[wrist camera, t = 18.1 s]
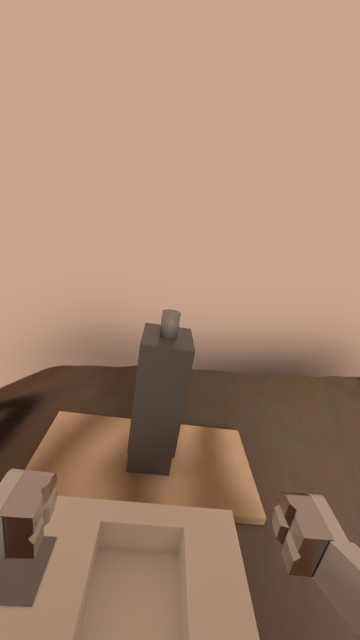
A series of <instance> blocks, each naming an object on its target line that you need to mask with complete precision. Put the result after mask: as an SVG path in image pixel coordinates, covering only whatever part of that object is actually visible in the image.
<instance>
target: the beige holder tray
mask: <svg viewBox="0 0 360 640" xmlns="http://www.w3.org/2000/svg"><path fill="white" fill-rule="evenodd" d="M0 640H260V639H259V634H258V629H257V625H256V620H255V615H254V611H253V606H252V601H251V597H250V592H249V587H248V583H247V578H246V573H245V569H244V564H243V559H242V555H241V550H240V545H239V541H238V536H237V531H236V527H235V522H234V517H233V513H232V510H223V509H211V508H199V507H187V506H176V505H164V504H152V503H140V502H128V501H116V500H105V499H93V498H81V497H69V496H57V499H56V504H55V508H54V511H53V514H52V517H51V519H50V522H49V523H48V524H46V525H45V526H44V537H43V539H42V541H41V544H40V546H39V549H38V551H37V553H36V556H35V558H34V559H17V558H6V560H5V561H4V562H3V563H2V564H1V565H0Z"/></svg>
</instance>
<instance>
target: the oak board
mask: <svg viewBox="0 0 360 640" xmlns="http://www.w3.org/2000/svg"><path fill="white" fill-rule="evenodd" d="M130 424H131V419H127V418H118V417H108V416H99V415H90V414H81V413H72V412H62V411H59V413H58V415H57V416H56V418H55V420H54V421H53V423H52V425H51V426H50V428H49V430H48V431H47V433H46V435H45V436H44V438H43V440H42V441H41V443H40V445H39V446H38V448H37V450H36V452H35V453H34V455H33V457H32V458H31V460H30V462H29V463H28V465H27V467H26V468H25V470H31V471H40V472H49V473H56V474H57V482H56V484H55V488H56V490H57V496H69V497H81V498H93V499H105V500H116V501H128V502H140V503H152V504H164V505H176V506H187V507H199V508H211V509H223V510H232V513H233V517H234V522H235V523H241V524H253V525H264V524H265V521H266V516H265V513H264V510H263V507H262V503H261V500H260V497H259V494H258V491H257V488H256V485H255V482H254V479H253V476H252V473H251V470H250V467H249V464H248V460H247V457H246V454H245V451H244V448H243V445H242V442H241V439H240V436H239V433H238V431H237V430H228V429H219V428H209V427H200V426H191V425H182V424H181V426H180V432H179V437H178V442H177V447H176V452H175V457H174V458H172V463H171V468H170V473H169V476H164V475H153V474H142V473H131V472H126V468H127V460H128V453H127V449H128V440H129V432H130Z"/></svg>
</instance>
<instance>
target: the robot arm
mask: <svg viewBox="0 0 360 640" xmlns="http://www.w3.org/2000/svg"><path fill="white" fill-rule="evenodd" d="M56 482H57V474H56V473H49V472H40V471H31V470H21V469H11V470H10V471H8V472H7V473H6V475H5V476H4V478H3V479H2V481H1V482H0V565H1V564H2V563H3V562H4V561H5V560H6V558H17V559H34V558H35V556H36V553H37V551H38V549H39V546H40V544H41V541H42V539H43V537H44V526H45V525H46V524H48V523H49V522H50V519H51V517H52V514H53V511H54V508H55V504H56V499H57V490H56V488H55V484H56ZM278 502H279V505H277V506H276V507H275V508H274V511H273V514H272V524H273V530H274V533H275V536H276V538H277V540H278V541H279V542H280V543H281V544H282V545H283V546H282V550H281V554H282V557H283V560H284V563H285V566H286V569H287V572H288V575H296V576H307V577H313V580H314V581H315V582H316V584H317V585H318V586H319V588H320V589H321V590H322V591H323V593H324V594H325V595H326V597H327V598H328V599H329V601H330V602H331V603H332V604H333V606H334V607H335V608H336V610H337V611H338V612H339V613H340V615H341V616H342V617H343V619H344V620H345V621H346V623H347V624H348V625H349V626H350V628H351V629H352V630H353V632H354V633H355V634H356V635H357V637H358V638H359V639H360V548H359V547H358V546H357V545H356V544H354V543H351V542H349V540H348V539H347V537H346V535H345V533H344V532H343V530H342V528H341V526H340V525H339V523H338V521H337V519H336V517H335V516H334V514H333V512H332V510H331V509H330V507H329V505H328V503H327V501H326V500H325V498H324V497H323V496H322V495H313V494H304V493H290V492H281V493H280V494H279V497H278Z"/></svg>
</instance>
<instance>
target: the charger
mask: <svg viewBox="0 0 360 640" xmlns="http://www.w3.org/2000/svg"><path fill="white" fill-rule="evenodd" d="M180 314H181V313H180V312H178V311H175V310H163V314H162V321H161V325H158V324H150V323H146V324H145V328H144V332H143V336H142V340H141V344H140V351H139V359H138V367H137V375H136V383H135V392H134V400H133V408H132V416H131V424H130V432H129V440H128V449H127V453H128V460H127V468H126V472H131V473H142V474H153V475H164V476H169V473H170V468H171V463H172V458H174V457H175V452H176V447H177V442H178V437H179V432H180V426H181V421H182V416H183V411H184V406H185V401H186V396H187V390H188V385H189V380H190V375H191V370H192V365H193V359H194V354H195V349H194V344H193V339H192V334H191V329H186V328H179V321H180Z"/></svg>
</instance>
